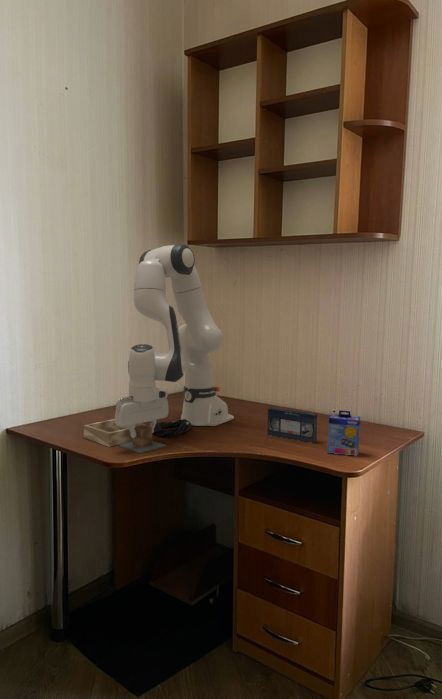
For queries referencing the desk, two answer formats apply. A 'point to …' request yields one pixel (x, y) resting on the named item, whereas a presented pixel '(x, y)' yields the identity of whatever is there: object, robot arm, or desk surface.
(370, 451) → the desk surface
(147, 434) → the block
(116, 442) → the crate
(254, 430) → the desk surface
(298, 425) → the vhs cassette tape
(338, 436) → the ink cartridge box
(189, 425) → the cable
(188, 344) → the robot arm
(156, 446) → the pad
